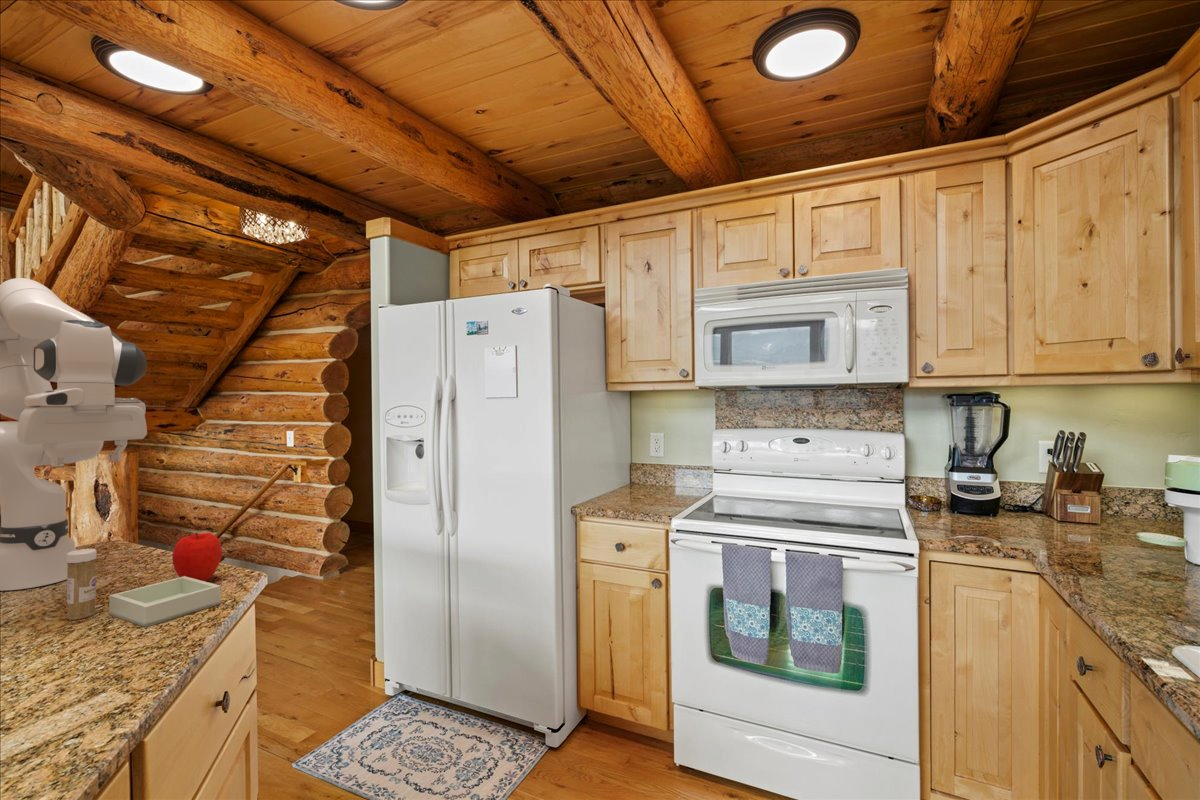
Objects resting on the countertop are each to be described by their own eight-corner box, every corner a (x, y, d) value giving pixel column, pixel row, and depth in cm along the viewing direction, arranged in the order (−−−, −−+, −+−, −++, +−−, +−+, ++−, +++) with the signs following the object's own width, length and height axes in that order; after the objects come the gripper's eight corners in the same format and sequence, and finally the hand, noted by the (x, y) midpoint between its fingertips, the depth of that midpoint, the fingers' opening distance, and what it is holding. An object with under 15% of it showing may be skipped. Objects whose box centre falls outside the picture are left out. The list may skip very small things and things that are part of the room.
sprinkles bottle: (93, 617, 113) (94, 551, 113) (63, 622, 111) (63, 555, 111) (98, 610, 117) (98, 546, 117) (68, 614, 115) (69, 549, 115)
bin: (109, 614, 115) (109, 595, 115) (184, 593, 128) (184, 576, 128) (145, 627, 109) (145, 607, 109) (220, 604, 121) (220, 585, 121)
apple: (204, 573, 142) (204, 526, 142) (231, 578, 139) (232, 529, 139) (162, 585, 133) (162, 534, 133) (190, 591, 129) (190, 538, 129)
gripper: (137, 398, 127) (138, 458, 126) (13, 397, 108) (13, 468, 108) (152, 397, 124) (153, 459, 124) (27, 396, 105) (27, 469, 105)
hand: (87, 463), depth 116 cm, fingers open, 8 cm apart
